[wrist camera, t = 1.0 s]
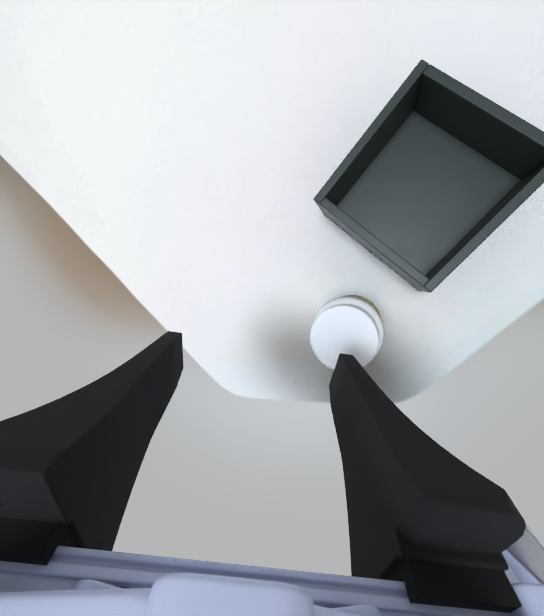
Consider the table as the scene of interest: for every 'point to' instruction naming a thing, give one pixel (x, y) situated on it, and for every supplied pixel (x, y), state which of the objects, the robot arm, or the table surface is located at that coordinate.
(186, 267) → the table surface
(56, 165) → the table surface
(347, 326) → the supplement bottle
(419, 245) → the storage tray
